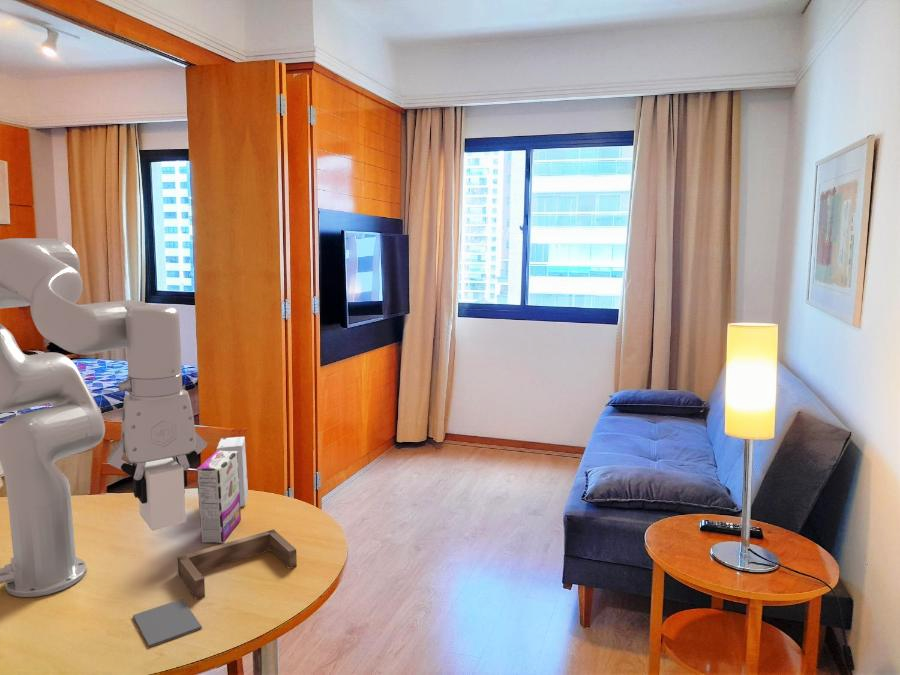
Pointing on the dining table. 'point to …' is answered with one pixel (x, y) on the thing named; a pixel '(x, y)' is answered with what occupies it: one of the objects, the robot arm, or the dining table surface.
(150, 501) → the white box
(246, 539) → the frame
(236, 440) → the skincare box
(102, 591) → the dining table surface
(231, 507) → the candy bar box
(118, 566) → the dining table surface
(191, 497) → the dining table surface
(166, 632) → the rubber mat
